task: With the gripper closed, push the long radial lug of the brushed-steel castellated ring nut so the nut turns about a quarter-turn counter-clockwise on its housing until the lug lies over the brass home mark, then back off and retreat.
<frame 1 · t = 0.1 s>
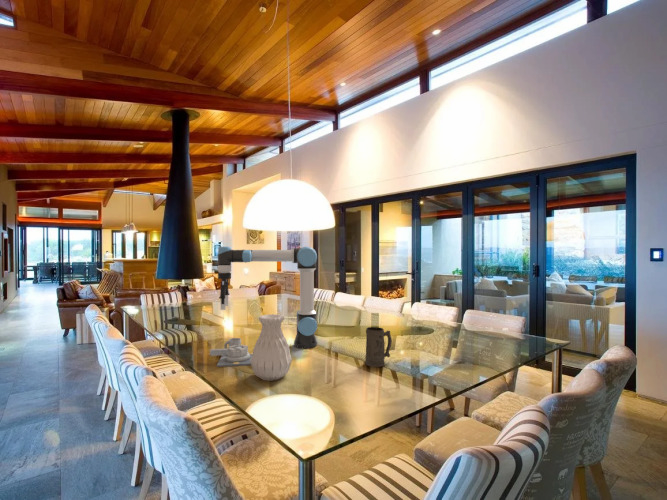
hand: (224, 307, 215), 28 cm above the table, fingers open, 13 cm apart
beer stein: (378, 363, 199), on the table
vase: (271, 377, 178), on the table
ring nut: (229, 350, 202), point 6 cm above the table, hinge at 0.0°
cup: (232, 354, 216), on the table
housing: (237, 360, 203), on the table
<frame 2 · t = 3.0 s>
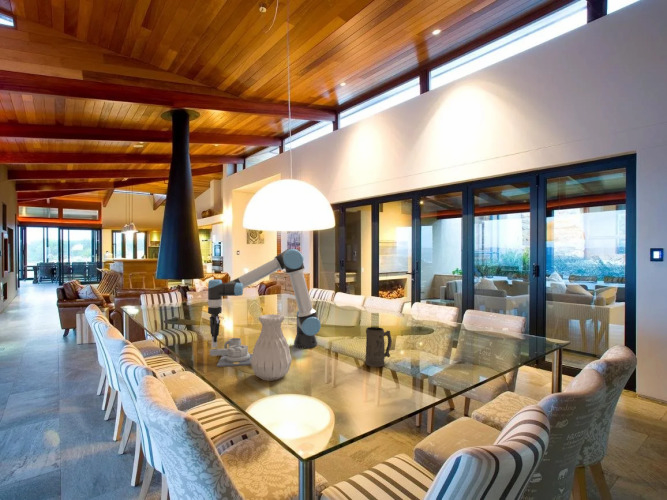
hand: (214, 347, 207), 6 cm above the table, fingers closed
nothing on the table moved.
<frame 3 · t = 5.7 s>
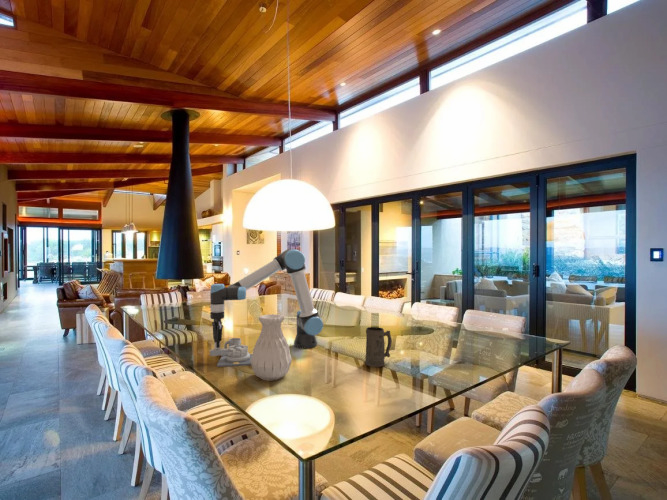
hand: (217, 352, 203), 4 cm above the table, fingers closed
ring nut: (229, 351, 202), point 6 cm above the table, hinge at 1.9°
everything else where it was.
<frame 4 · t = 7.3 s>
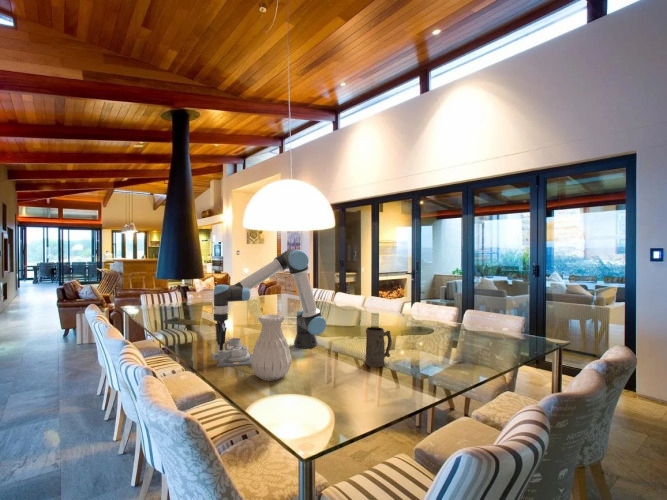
hand: (220, 355, 197), 5 cm above the table, fingers closed
ring nut: (230, 352, 199), point 6 cm above the table, hinge at 37.9°, touching gripper
everything else where it was.
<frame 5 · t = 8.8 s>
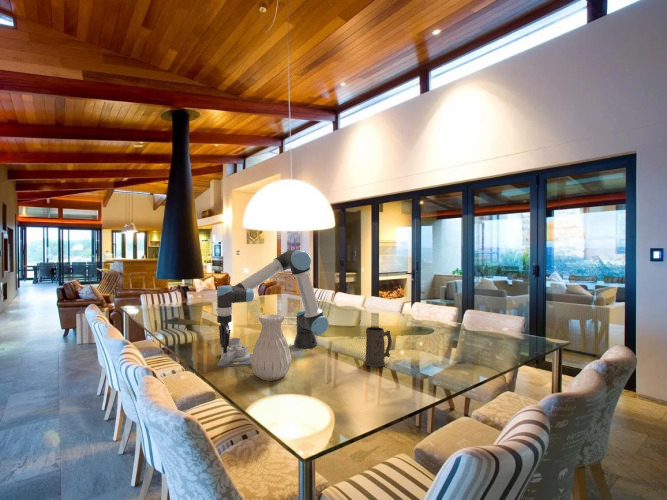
hand: (224, 358, 193), 4 cm above the table, fingers closed
ring nut: (234, 353, 198), point 6 cm above the table, hinge at 72.0°, touching gripper
everything else where it was.
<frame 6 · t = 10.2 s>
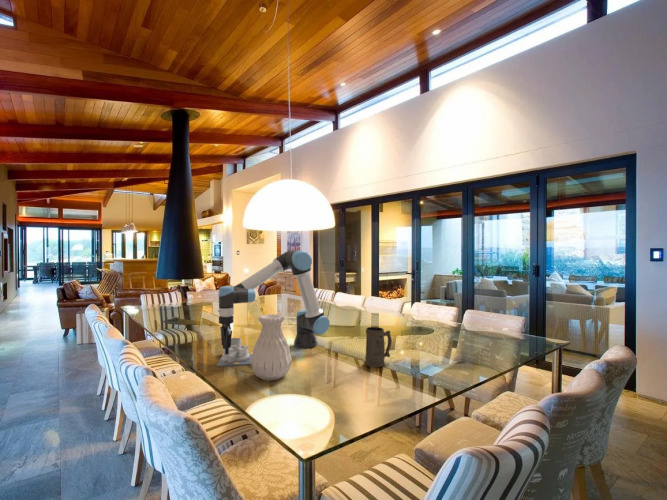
hand: (226, 359, 190), 4 cm above the table, fingers closed
ring nut: (235, 353, 198), point 6 cm above the table, hinge at 80.9°, touching gripper
everything else where it was.
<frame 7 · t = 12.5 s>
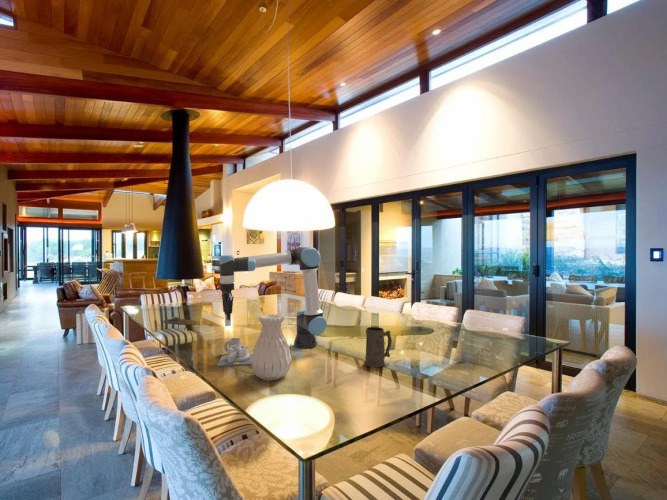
hand: (227, 325, 198), 21 cm above the table, fingers closed
ring nut: (235, 353, 198), point 6 cm above the table, hinge at 81.1°
everything else where it was.
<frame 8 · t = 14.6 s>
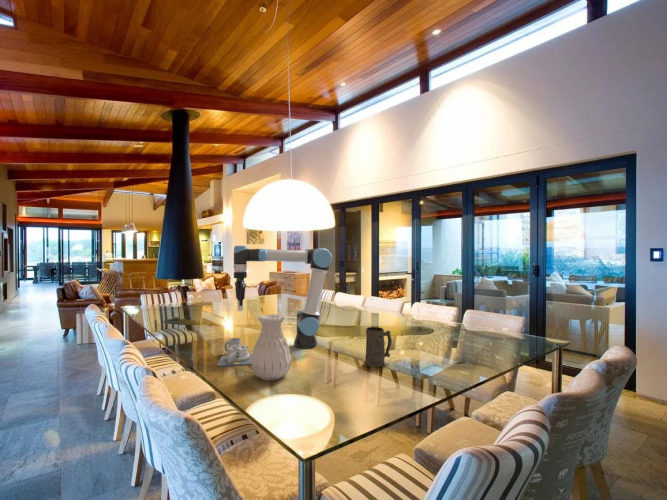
hand: (240, 310, 214), 26 cm above the table, fingers closed
nothing on the table moved.
at the end: ring nut at +81° (first picture: +0°) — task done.
